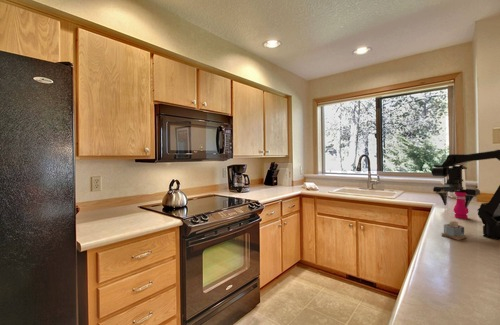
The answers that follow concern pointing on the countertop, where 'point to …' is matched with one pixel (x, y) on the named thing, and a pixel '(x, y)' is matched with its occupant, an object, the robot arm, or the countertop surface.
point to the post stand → (453, 224)
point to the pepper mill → (460, 206)
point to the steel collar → (454, 230)
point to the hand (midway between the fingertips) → (455, 206)
